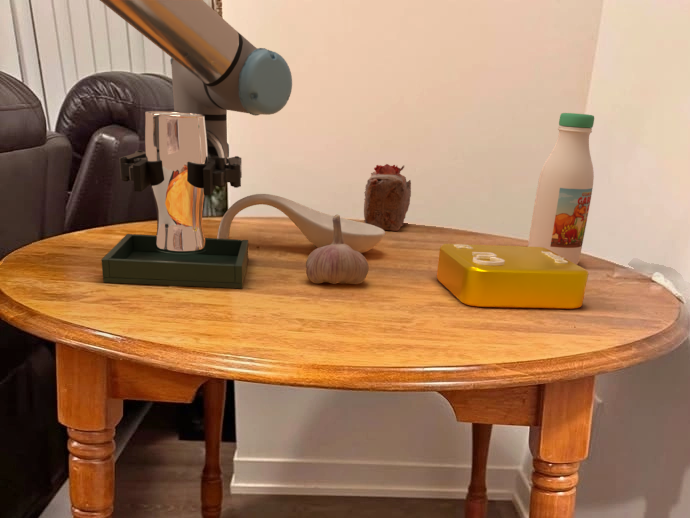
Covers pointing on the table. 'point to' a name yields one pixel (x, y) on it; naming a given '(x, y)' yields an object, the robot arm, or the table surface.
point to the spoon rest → (309, 223)
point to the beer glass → (177, 178)
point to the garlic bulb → (336, 261)
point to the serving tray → (176, 264)
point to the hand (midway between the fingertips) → (172, 180)
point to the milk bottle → (565, 190)
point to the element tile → (511, 276)
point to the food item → (387, 198)
